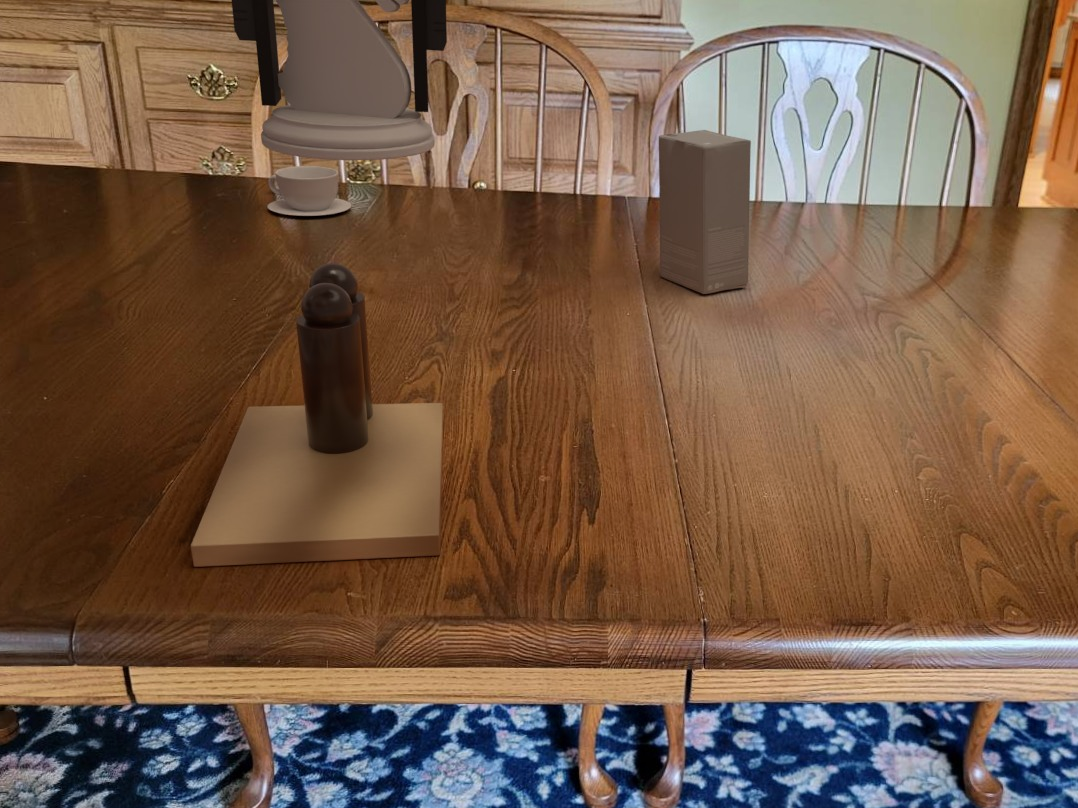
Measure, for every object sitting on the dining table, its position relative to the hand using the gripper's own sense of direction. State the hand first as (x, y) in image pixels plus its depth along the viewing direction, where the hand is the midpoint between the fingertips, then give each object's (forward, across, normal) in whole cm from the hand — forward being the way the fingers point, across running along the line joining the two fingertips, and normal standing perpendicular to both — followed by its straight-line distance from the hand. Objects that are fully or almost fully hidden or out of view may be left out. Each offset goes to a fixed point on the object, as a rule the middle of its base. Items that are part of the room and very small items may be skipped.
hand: (348, 104), depth 65 cm
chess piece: (+2, 0, 0) cm, 2 cm away
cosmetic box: (+25, -33, -44) cm, 60 cm away
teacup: (+25, +11, -75) cm, 80 cm away
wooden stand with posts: (+25, +2, 0) cm, 25 cm away
